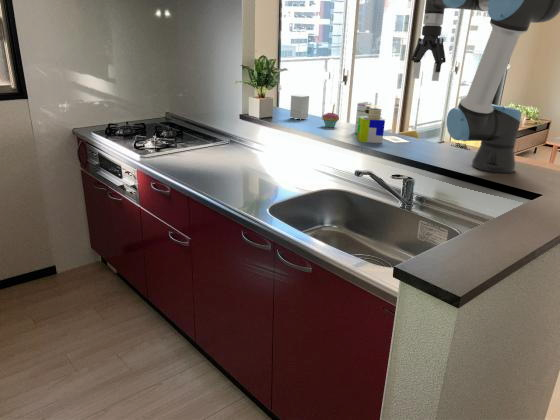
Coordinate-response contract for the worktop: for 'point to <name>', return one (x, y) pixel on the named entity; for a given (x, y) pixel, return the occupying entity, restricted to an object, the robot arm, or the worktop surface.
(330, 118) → the cupcake
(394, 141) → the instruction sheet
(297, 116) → the supplement box
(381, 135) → the puzzle toy
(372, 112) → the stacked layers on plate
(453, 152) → the worktop surface
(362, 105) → the syrup box
